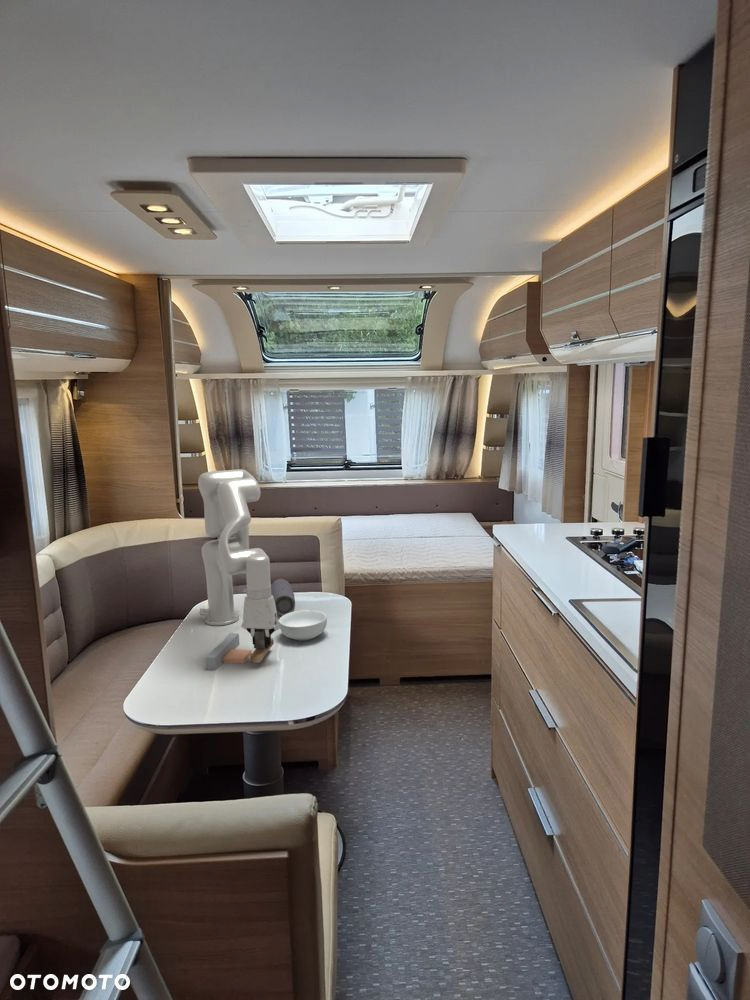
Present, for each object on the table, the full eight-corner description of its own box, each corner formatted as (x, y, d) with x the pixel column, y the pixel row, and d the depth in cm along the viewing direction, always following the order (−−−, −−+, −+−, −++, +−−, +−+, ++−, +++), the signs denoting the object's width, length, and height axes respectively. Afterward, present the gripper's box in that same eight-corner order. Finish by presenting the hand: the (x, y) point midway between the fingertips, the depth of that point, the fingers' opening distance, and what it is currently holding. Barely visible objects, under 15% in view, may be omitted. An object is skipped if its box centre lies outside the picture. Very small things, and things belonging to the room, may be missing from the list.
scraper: (250, 662, 189) (249, 638, 188) (265, 643, 203) (263, 621, 201) (259, 662, 189) (258, 638, 187) (273, 643, 202) (272, 621, 201)
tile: (223, 663, 194) (223, 658, 194) (231, 654, 201) (231, 649, 201) (244, 664, 193) (243, 658, 193) (251, 655, 200) (251, 649, 200)
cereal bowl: (304, 624, 226) (303, 606, 224) (337, 634, 215) (336, 615, 214) (270, 638, 213) (268, 619, 212) (302, 650, 202) (301, 630, 201)
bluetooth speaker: (297, 617, 233) (296, 592, 231) (273, 620, 231) (271, 595, 229) (292, 599, 255) (291, 576, 253) (270, 601, 253) (268, 578, 251)
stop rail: (206, 669, 189) (205, 657, 189) (231, 644, 209) (230, 633, 208) (215, 669, 189) (214, 657, 188) (239, 644, 208) (238, 633, 208)
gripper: (230, 595, 190) (233, 650, 193) (280, 597, 187) (282, 653, 191) (239, 588, 197) (242, 640, 200) (287, 589, 195) (289, 643, 198)
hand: (262, 646), depth 195 cm, fingers closed on scraper, 3 cm apart
